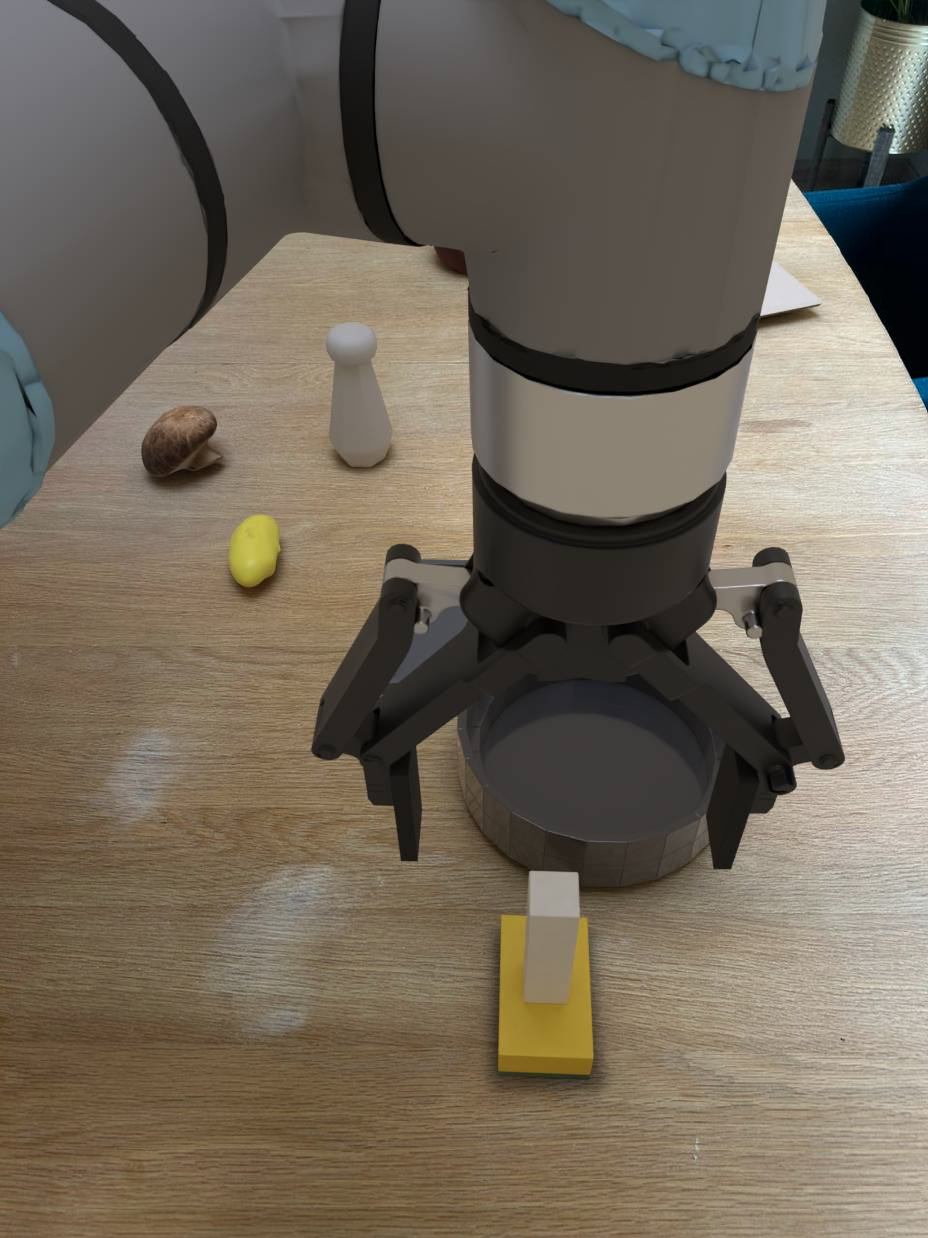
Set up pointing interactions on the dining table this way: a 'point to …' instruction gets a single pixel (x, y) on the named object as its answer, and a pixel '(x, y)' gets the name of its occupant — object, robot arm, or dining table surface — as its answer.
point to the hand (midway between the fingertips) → (563, 839)
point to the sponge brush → (546, 983)
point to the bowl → (589, 777)
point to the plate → (786, 294)
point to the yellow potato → (254, 550)
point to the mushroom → (180, 441)
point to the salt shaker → (357, 397)
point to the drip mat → (431, 632)
